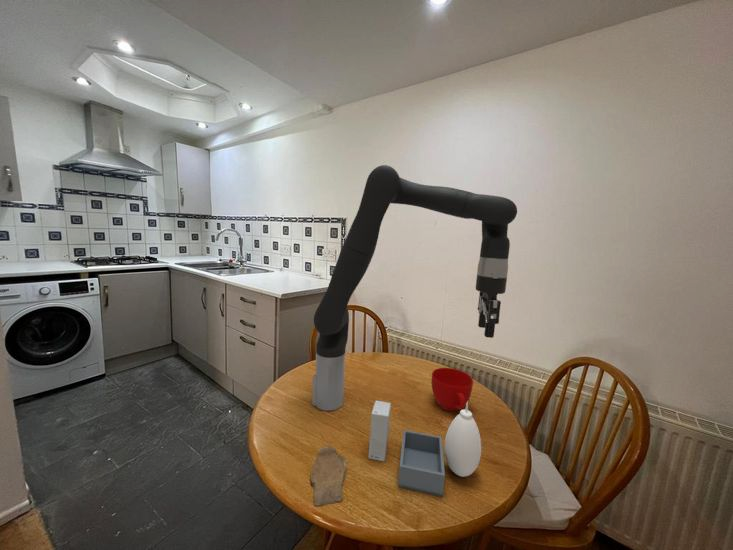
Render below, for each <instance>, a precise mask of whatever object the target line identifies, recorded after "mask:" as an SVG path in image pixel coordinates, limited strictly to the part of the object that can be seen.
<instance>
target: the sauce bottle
mask: <svg viewBox="0 0 733 550" xmlns="http://www.w3.org/2000/svg"><path fill="white" fill-rule="evenodd" d="M468 401H469V400H468ZM468 401H467V403H466V404H465V408H462V409H460V411H459V414H457V415H456V416H455V418H453V420H452V421H451V423H450V425H449V427H448V428H447V431H446V434H445V439H444V449H443V452H444V455H445V460H446V464H447V465H448V467H449V469H450V470H451V471H452V472H454V474H455V475H457V476H459V477H462V478H463V477H464V478H465V477H468V476H471V475H472V474H473V473H474V472H475V471H476V469H477V467H479V464H480V461H481V456H482V439H481V435H480V430H479V427H478V424H477V422H476V420H475V419H474V417H473V413H472V412H471V411H470V410H469V402H468Z"/></svg>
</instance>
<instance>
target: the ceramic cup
mask: <svg viewBox="0 0 733 550" xmlns="http://www.w3.org/2000/svg"><path fill="white" fill-rule="evenodd" d="M473 385H474V380H473V378H472V377H471V375H470V374H468V373H466V372H464V371H462V370H460V369H456V368H452V367H451V368H450V367H439V368H435V369H434V370H433V371H432V372H431V390H432V394H433V397H434V399H435V400H436V402H437V403H438V404H439V406H440V407H441V408H442V409H444V410H446V411H450V412H457V411H459V410H463V409H465V407H466V403H467V401H469V400H470V398H471V395H472V391H473Z"/></svg>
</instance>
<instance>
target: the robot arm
mask: <svg viewBox="0 0 733 550" xmlns="http://www.w3.org/2000/svg"><path fill="white" fill-rule="evenodd" d="M391 204H395V205H398V204H399V205H400V204H401V205H405V206H407V205H408V206H414V207H418V208H423V209H427V210H430V211H434V212H437V213H441V214H443V215H448V216H452V217H456V218H460V219H465V220H466V219H467V220H468V219H469V220H470V219H471V220H472V219H473V220H477V221H481V245H480V253H479V260H478V263H477V264H478V265H477V273H476V279H475V280H476V281H475V291H477V292H479V295H478V303H477V304H478V305H477V311H478V314H479V315H478V324H477V327H479V328H482V329H484V333H483V335H484V337H485V338H491V339H493V338H494V336H495V330H496V325H498V324H499V323H500V312H501V304H502V302H501V300H498V297H497V295H503V294H505V293H506V288H507V281H508V271H509V255H510V247H511V246H510V245H511V242H510V238H509V237H508V229H509V224H511V223H512V222H513V221H514V220H515V219H516V217H517V215H518V208H517V207H518V206H517V205H516V203H515V202H514V201H513V200H511V199H509V198H507V197H503V196H498V195H492V194H479V193H474V192H472V191H467V190H462V189H459V188H454V187H448V186H442V185H441V186H439V185H428V184H427V185H426V184H421V183H417V182H413V181H410V180H407V179H405V178H403V177H400V175H399V174H398V172H397V170H396V168H395V169H394V167H392V166H390V165H387V164H383V165H382V164H381V165H378V166H376V167H375V168H373V169H372V171H371V172H370V173H369V175H368V177H367V179H366V181H365V186H364V189H363V193H362V197H361V201H360V204H359V207H358V209H357V212H356V215H355V217H354V219H353V221H352V223H351V225H350V228H349V230H348V233H347V235H346V237H345V240H344V242H343V244H342V247H341V250H340V252H339V255H338V258H337V261H336V263H335V266H334V269H333V271H332V275H331V277H330V281H329V283H328V287H327V289H326V291H325V293H324V295H323V297H322V299H321V301H320V303H319V305H318V306H317V308H316V310H315V312H314V314H313V325H314V327H315V330H316V331H317V332H318V333H319V337H318V339H317V342H316V344H315V371H314V372H315V373H314V375H313V376H312V391H311V392H312V393H311V395H312V398H311V404H312V406H315V408H317V409H318V410H321V411H324V412H325V411H327V412H329V411H335V410H338V409H340V408H342V406H343V404H344V394H345V393H344V390H345V371H346V370H345V369H346V367H345V366H346V348H347V343H348V338H349V327H350V325H349V324H350V323H349V322H350V312H349V309H348V306H349V305H348V304H349V302H350V300H351V297H352V295H353V294H354V292H355V290H356V289H357V287H358V286H359V284H360V282H361V280H362V279H363V277H364V276H365V274H366V272H367V270H368V269H369V266H370V264H371V261H372V259H373V256H374V255H375V251H376V247H377V244H378V240H379V234H380V230H381V226H382V222H383V219H384V217H385V214H386V213H387V210H388V209H389V206H390V205H391Z"/></svg>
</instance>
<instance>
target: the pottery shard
mask: <svg viewBox="0 0 733 550" xmlns="http://www.w3.org/2000/svg"><path fill="white" fill-rule="evenodd" d="M346 474H347V462H346V457H345V456H342V455H341V454H338V452H337V450H336V448H334V447H333V446H330V445H329V446H325V447H322V448H320V449H319V450H318V451H317V454H316V458H315V460H314V463H313V464H312V468H311V472H310V480H311V484H312V488H313V504H314V507H315V508H317V507H322V506H328V505H334V504H336V503H338V504H339V503H340V504H341V503H342V502H343V501H344V495H343V485H344V482H345V477H346Z"/></svg>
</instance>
